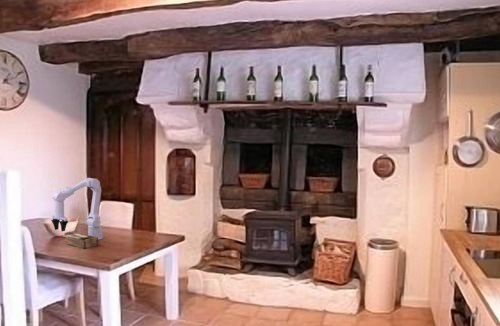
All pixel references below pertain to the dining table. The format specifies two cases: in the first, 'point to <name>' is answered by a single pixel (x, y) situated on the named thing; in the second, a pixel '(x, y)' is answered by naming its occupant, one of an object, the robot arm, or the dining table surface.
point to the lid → (74, 235)
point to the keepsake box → (83, 242)
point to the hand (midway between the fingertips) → (59, 230)
